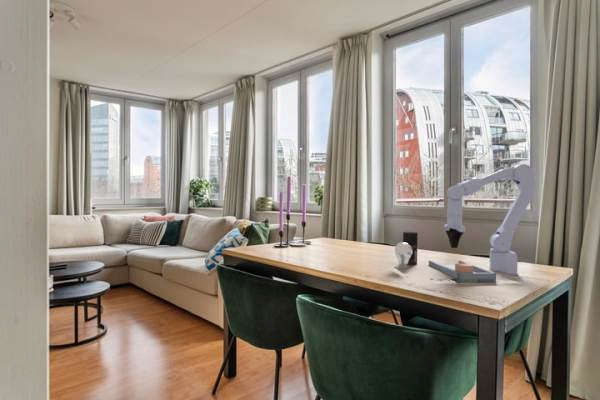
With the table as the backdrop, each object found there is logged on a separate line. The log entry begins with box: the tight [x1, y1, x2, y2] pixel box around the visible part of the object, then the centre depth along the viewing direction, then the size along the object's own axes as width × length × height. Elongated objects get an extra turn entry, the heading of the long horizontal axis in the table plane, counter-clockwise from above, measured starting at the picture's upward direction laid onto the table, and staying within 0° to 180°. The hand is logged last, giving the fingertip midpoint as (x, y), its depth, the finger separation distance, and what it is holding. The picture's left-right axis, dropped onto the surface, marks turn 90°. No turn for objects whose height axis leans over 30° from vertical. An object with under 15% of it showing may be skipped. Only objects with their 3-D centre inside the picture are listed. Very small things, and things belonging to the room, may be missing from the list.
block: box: [454, 262, 473, 273], centre depth 137 cm, size 4×4×4 cm
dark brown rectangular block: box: [402, 231, 419, 266], centre depth 162 cm, size 6×6×15 cm
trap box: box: [428, 259, 497, 284], centre depth 147 cm, size 14×26×4 cm, turn 3°
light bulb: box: [394, 241, 412, 270], centre depth 153 cm, size 7×7×12 cm
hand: (454, 247), depth 156 cm, fingers closed
